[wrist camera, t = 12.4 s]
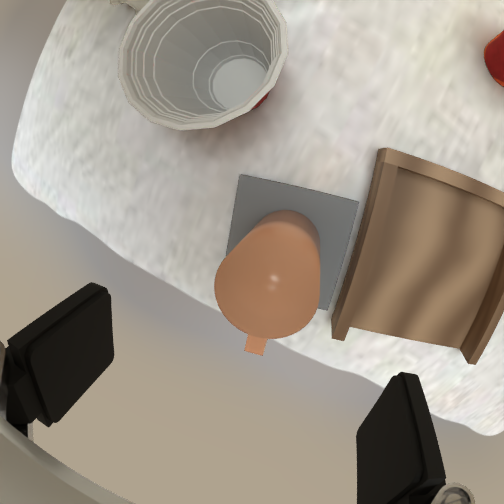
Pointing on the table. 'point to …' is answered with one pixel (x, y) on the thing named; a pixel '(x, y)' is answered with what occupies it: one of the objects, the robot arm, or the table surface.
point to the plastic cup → (201, 60)
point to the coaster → (307, 203)
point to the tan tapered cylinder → (271, 279)
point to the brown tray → (426, 258)
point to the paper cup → (495, 58)
